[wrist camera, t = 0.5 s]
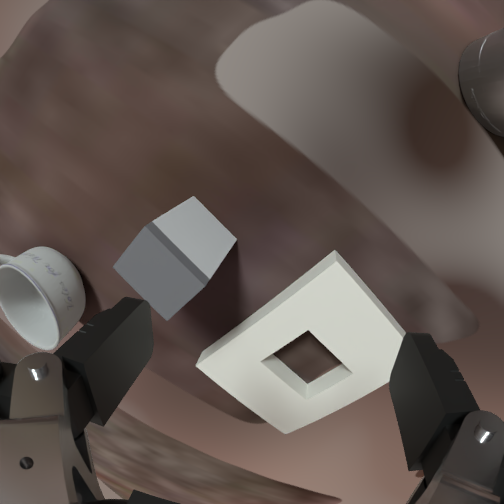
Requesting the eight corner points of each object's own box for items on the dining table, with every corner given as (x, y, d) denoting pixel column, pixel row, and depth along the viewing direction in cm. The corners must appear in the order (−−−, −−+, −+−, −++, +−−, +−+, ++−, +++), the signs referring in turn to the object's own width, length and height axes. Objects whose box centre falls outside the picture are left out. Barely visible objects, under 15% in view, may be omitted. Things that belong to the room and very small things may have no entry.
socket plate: (334, 249, 27) (336, 260, 25) (416, 345, 29) (421, 360, 27) (202, 351, 34) (195, 365, 32) (287, 419, 36) (285, 434, 34)
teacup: (110, 282, 33) (67, 319, 26) (81, 332, 37) (46, 367, 30) (33, 203, 32) (-16, 223, 24) (15, 262, 36) (-25, 286, 29)
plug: (193, 196, 28) (145, 226, 20) (236, 239, 29) (205, 286, 20) (164, 228, 30) (112, 267, 21) (205, 269, 30) (167, 320, 22)
